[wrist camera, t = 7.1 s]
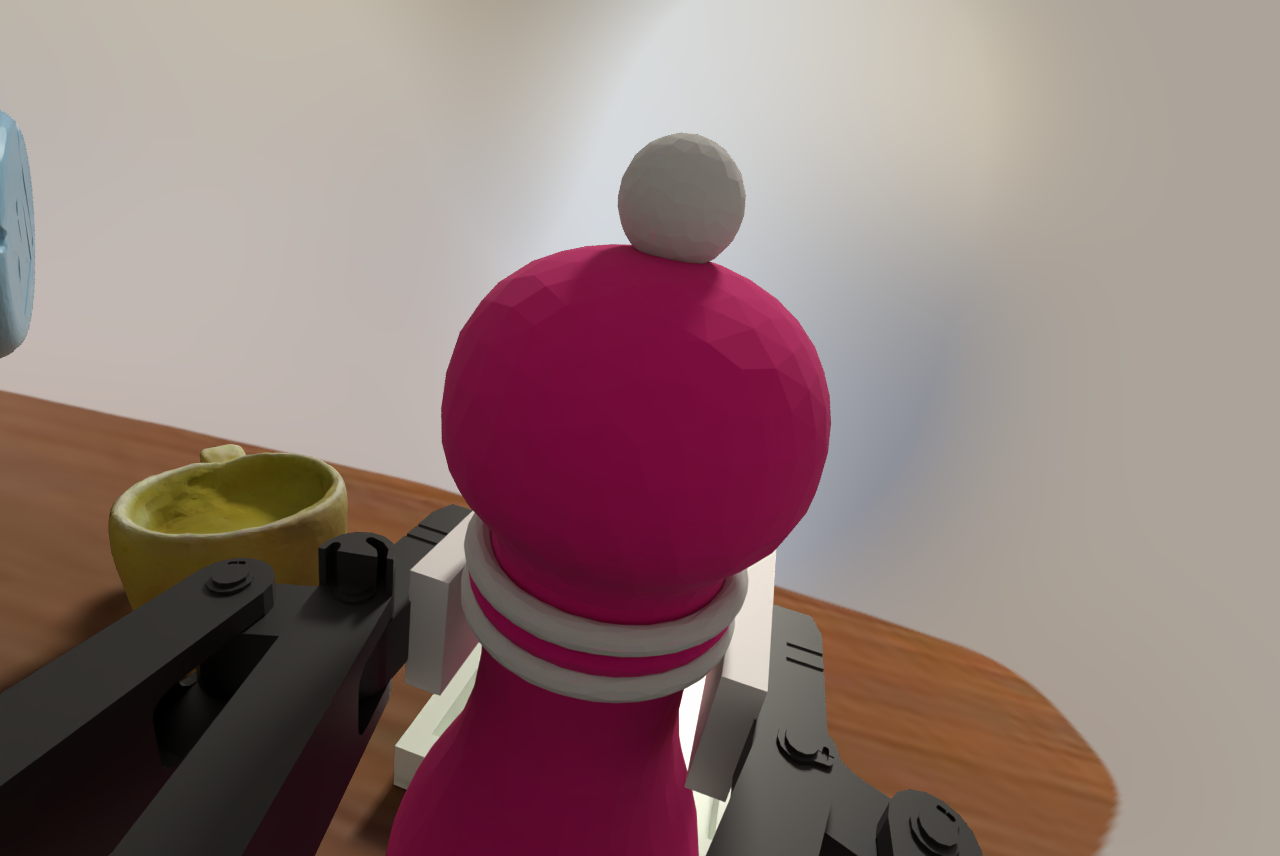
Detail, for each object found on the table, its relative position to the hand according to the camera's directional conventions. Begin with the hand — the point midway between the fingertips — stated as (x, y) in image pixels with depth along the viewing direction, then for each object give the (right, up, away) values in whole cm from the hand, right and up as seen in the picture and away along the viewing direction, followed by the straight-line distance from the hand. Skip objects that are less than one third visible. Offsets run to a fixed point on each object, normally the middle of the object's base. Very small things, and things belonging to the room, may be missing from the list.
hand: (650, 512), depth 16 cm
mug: (-22, -7, +16) cm, 28 cm away
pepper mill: (-3, -12, 0) cm, 12 cm away
